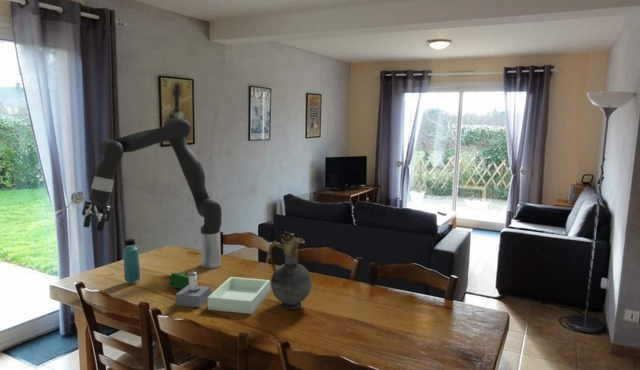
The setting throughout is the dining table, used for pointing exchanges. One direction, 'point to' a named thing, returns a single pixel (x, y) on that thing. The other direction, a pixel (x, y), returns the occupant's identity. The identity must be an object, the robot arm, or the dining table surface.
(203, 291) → the block
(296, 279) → the pitcher
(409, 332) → the dining table surface
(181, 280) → the green irregular block
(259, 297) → the tray
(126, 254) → the beverage bottle
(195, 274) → the lock pin
